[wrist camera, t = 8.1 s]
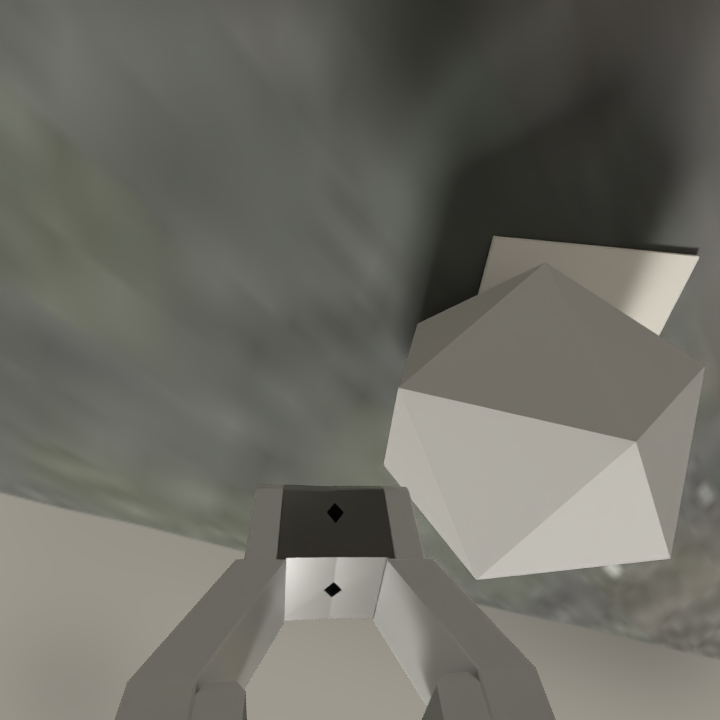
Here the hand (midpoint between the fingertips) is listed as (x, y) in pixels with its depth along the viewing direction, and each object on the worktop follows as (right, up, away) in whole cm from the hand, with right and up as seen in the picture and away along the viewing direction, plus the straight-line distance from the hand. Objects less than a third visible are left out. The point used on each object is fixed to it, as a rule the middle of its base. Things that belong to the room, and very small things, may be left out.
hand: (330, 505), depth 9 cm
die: (+2, +2, +5) cm, 5 cm away
